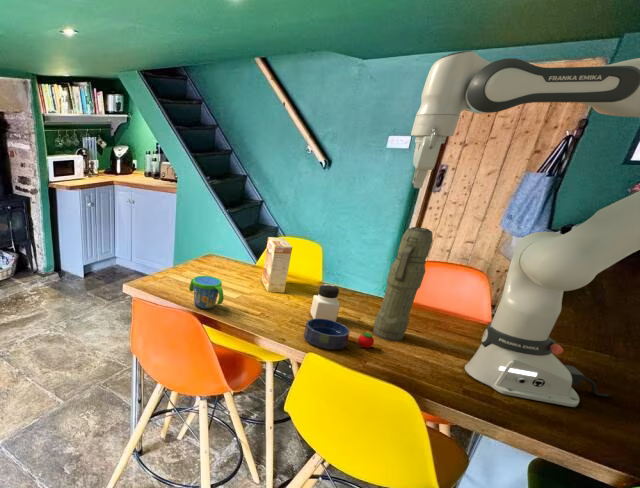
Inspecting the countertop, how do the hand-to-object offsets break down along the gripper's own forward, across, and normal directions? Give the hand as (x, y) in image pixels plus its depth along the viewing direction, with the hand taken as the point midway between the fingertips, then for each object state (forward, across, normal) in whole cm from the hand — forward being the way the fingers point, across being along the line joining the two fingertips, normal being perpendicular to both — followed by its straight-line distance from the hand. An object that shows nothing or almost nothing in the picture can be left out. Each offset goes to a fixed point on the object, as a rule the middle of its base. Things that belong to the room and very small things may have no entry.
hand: (416, 186), depth 105 cm
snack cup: (+48, +1, +55) cm, 73 cm away
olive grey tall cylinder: (+48, +13, -5) cm, 50 cm away
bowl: (+48, -4, +12) cm, 50 cm away
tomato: (+48, -1, +1) cm, 48 cm away
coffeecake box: (+48, +38, +38) cm, 72 cm away
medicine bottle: (+48, +15, +15) cm, 53 cm away
